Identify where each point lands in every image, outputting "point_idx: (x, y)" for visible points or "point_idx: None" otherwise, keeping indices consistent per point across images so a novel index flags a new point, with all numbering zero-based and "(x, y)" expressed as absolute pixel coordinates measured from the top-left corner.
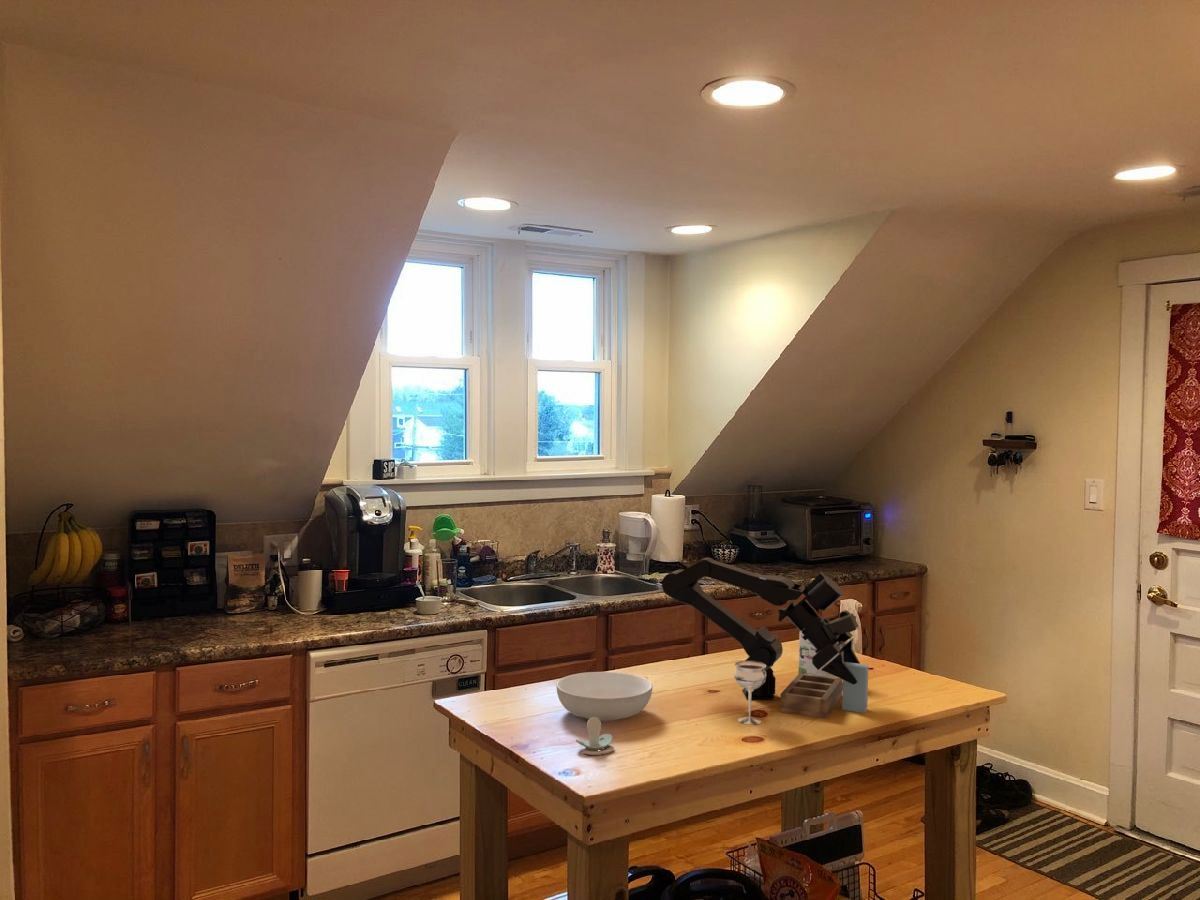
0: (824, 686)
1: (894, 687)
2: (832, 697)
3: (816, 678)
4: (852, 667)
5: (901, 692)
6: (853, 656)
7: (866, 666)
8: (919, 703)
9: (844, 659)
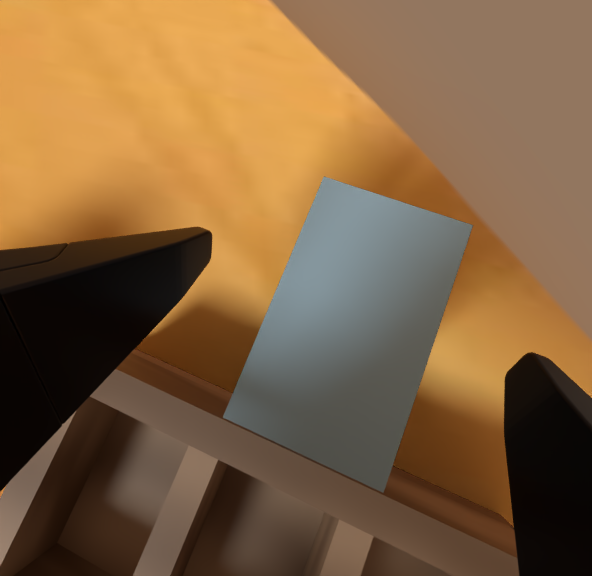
0: (206, 493)
1: (37, 117)
2: None
3: (39, 504)
4: (420, 374)
5: (99, 105)
6: (79, 285)
7: (405, 210)
8: (231, 72)
9: (63, 383)
